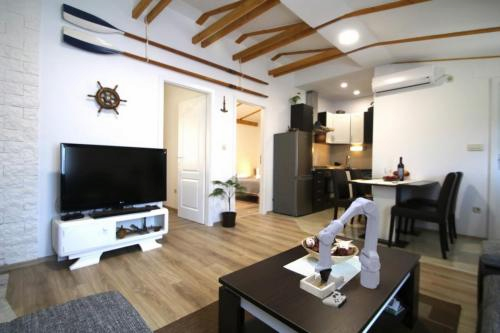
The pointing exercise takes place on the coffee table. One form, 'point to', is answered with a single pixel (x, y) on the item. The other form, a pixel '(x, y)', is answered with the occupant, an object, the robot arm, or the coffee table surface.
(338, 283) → the slot block
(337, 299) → the gaming controller
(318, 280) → the chip
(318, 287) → the chip
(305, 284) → the tray
